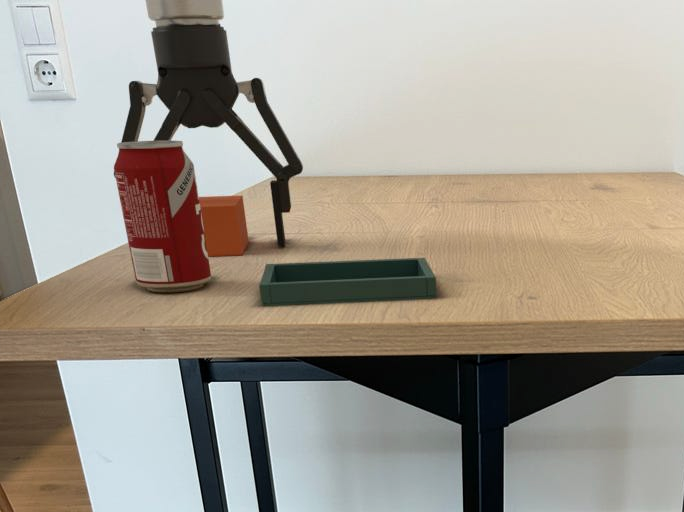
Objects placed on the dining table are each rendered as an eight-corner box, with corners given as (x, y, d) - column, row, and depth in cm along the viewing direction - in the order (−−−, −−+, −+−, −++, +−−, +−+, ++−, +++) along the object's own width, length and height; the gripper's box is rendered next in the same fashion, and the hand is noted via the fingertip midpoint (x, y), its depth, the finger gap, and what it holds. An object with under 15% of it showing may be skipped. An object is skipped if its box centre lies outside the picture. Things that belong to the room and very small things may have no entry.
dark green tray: (262, 311, 78) (259, 284, 77) (269, 288, 86) (266, 263, 85) (436, 303, 79) (435, 277, 78) (426, 281, 88) (425, 257, 87)
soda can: (167, 297, 83) (140, 146, 77) (122, 289, 87) (93, 143, 81) (227, 285, 88) (206, 141, 82) (182, 278, 91) (158, 139, 85)
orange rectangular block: (242, 255, 103) (235, 205, 100) (191, 257, 102) (183, 207, 100) (248, 241, 111) (242, 195, 109) (201, 243, 111) (194, 197, 108)
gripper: (310, 23, 100) (331, 237, 111) (70, 28, 97) (116, 246, 109) (309, 20, 94) (331, 247, 105) (52, 25, 91) (103, 257, 102)
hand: (222, 247), depth 107 cm, fingers open, 13 cm apart
